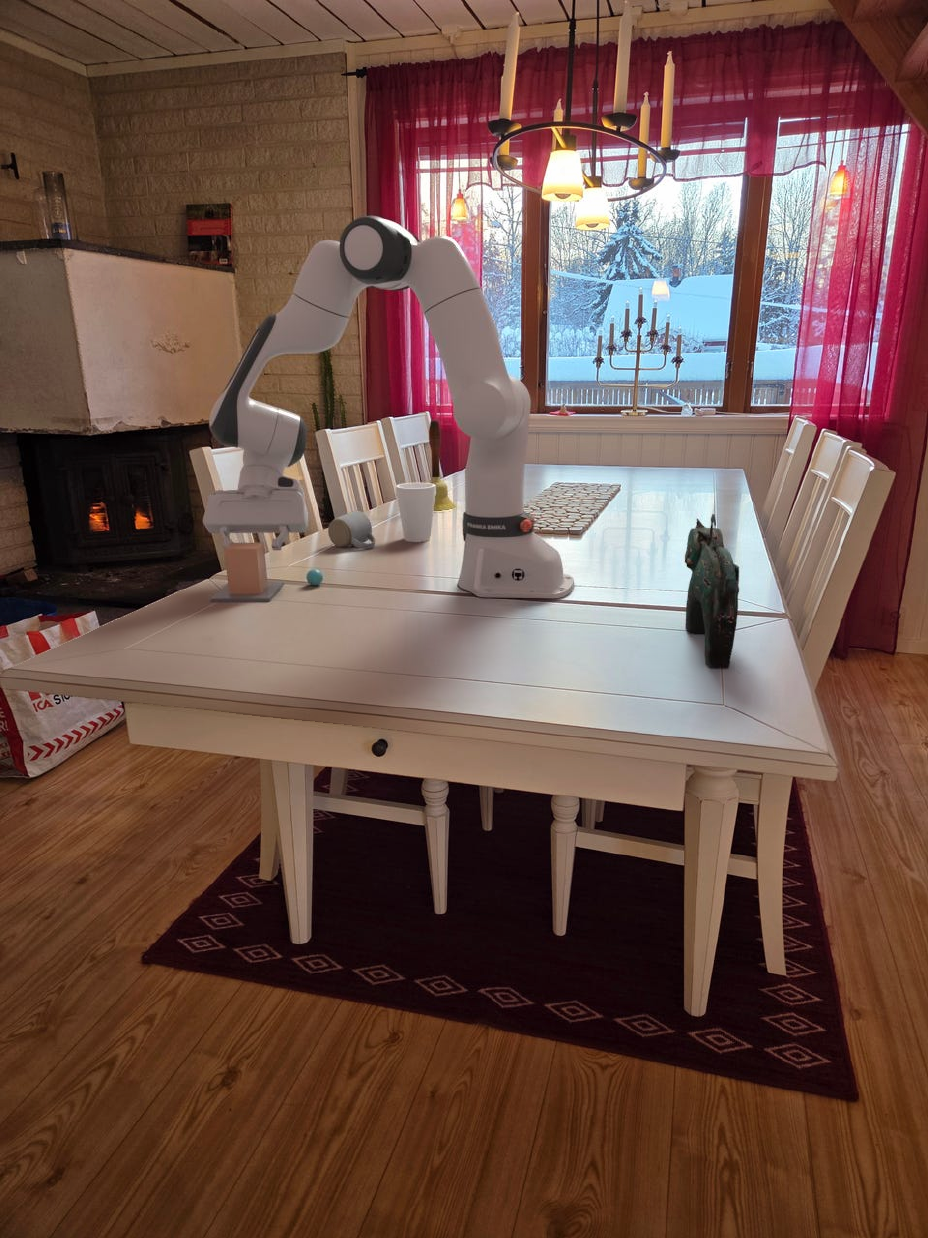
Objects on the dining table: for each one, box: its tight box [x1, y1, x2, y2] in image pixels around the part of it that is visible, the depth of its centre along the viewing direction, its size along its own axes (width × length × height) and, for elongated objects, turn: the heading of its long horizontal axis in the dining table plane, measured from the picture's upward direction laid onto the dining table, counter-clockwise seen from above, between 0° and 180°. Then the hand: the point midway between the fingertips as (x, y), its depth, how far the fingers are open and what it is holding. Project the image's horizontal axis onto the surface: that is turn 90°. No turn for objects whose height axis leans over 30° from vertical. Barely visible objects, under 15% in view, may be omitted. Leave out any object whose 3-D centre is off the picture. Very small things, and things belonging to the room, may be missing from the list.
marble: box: [305, 568, 324, 586], centre depth 155 cm, size 3×3×3 cm
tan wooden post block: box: [223, 542, 268, 594], centre depth 150 cm, size 6×5×9 cm
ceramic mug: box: [327, 510, 377, 550], centre depth 186 cm, size 11×8×8 cm
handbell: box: [427, 419, 457, 511], centre depth 227 cm, size 12×12×25 cm
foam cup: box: [395, 482, 436, 543], centre depth 191 cm, size 10×9×13 cm
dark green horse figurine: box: [684, 513, 740, 669], centre depth 118 cm, size 20×6×20 cm, turn 174°
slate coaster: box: [209, 581, 285, 603], centre depth 151 cm, size 11×11×1 cm
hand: (251, 549), depth 154 cm, fingers open, 8 cm apart
